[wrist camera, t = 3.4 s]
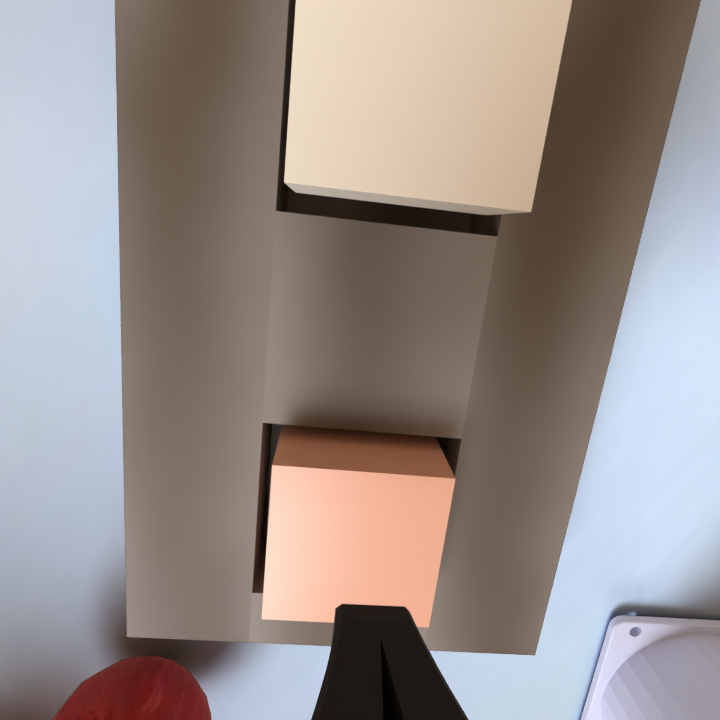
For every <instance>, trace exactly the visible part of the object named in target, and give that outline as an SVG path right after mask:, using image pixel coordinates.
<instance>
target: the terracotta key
mask: <svg viewBox="0 0 720 720" xmlns="http://www.w3.org/2000/svg"><path fill="white" fill-rule="evenodd" d="M454 485H455V476H454V474H453V472H452V470H451V468H450V466H449V464H448V462H447V460H446V458H445V456H444V454H443V452H442V450H441V447H440V445H439V443H438V441H437V439H436V437H433V436H421V435H408V434H396V433H383V432H371V431H359V430H346V429H334V428H321V427H309V426H297V425H284V424H283V425H282V429H281V432H280V436H279V440H278V444H277V448H276V452H275V456H274V460H273V464H272V474H271V489H270V503H269V518H268V532H267V547H266V561H265V576H264V590H263V604H262V619H267V620H287V621H308V622H328V623H334V617H335V608H337V607H338V606H340V605H341V604H359V605H382V606H405V607H406V608H407V609H408V610H409V611H410V613H411V615H412V618H413V620H414V622H415V624H416V626H417V627H429V624H430V619H431V613H432V607H433V602H434V596H435V591H436V585H437V580H438V574H439V568H440V563H441V557H442V552H443V546H444V540H445V535H446V529H447V524H448V518H449V513H450V507H451V501H452V496H453V490H454Z"/></svg>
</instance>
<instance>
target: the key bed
mask: <svg viewBox="0 0 720 720" xmlns="http://www.w3.org/2000/svg"><path fill="white" fill-rule="evenodd" d="M700 1H701V0H572V4H571V9H570V14H569V19H568V24H567V30H566V35H565V40H564V45H563V50H562V55H561V61H560V66H559V71H558V76H557V81H556V86H555V92H554V97H553V102H552V107H551V112H550V117H549V123H548V128H547V133H546V138H545V143H544V148H543V154H542V159H541V164H540V169H539V174H538V179H537V185H536V190H535V195H534V200H533V205H532V210H531V212H526V213H511V214H497V215H480V214H472V213H463V212H455V211H447V210H438V209H430V208H421V207H413V206H405V205H396V204H388V203H379V202H371V201H363V200H354V199H346V198H337V197H329V196H320V195H312V194H304V193H295V192H294V191H293V190H292V189H291V188H290V187H289V186H288V185H286V184H285V183H284V174H285V159H286V144H287V128H288V113H289V98H290V82H291V67H292V52H293V36H294V21H295V6H296V0H115V32H116V86H117V139H118V193H119V246H120V300H121V354H122V407H123V461H124V514H125V568H126V621H127V637H139V638H162V639H184V640H206V641H228V642H251V643H273V644H295V645H318V646H331V645H332V635H333V626H334V623H328V622H308V621H287V620H267V619H262V604H263V590H264V576H265V561H266V547H267V532H268V518H269V503H270V489H271V474H272V464H273V460H274V456H275V452H276V448H277V444H278V440H279V436H280V432H281V429H282V425H283V424H284V425H297V426H309V427H321V428H334V429H346V430H359V431H371V432H383V433H396V434H408V435H421V436H433V437H436V439H437V441H438V443H439V445H440V447H441V450H442V452H443V454H444V456H445V458H446V460H447V462H448V464H449V466H450V468H451V470H452V472H453V474H454V476H455V485H454V490H453V496H452V501H451V507H450V513H449V518H448V524H447V529H446V535H445V540H444V546H443V552H442V557H441V563H440V568H439V574H438V580H437V585H436V591H435V596H434V602H433V607H432V613H431V619H430V624H429V627H417V628H418V630H419V632H420V634H421V636H422V638H423V640H424V642H425V644H426V646H427V648H428V650H429V651H451V652H473V653H496V654H518V655H535V653H536V649H537V645H538V641H539V637H540V633H541V629H542V625H543V621H544V617H545V613H546V609H547V605H548V602H549V598H550V594H551V590H552V586H553V582H554V578H555V574H556V570H557V566H558V562H559V558H560V554H561V550H562V546H563V542H564V538H565V534H566V530H567V526H568V523H569V519H570V515H571V511H572V507H573V503H574V499H575V495H576V491H577V487H578V483H579V479H580V475H581V471H582V467H583V463H584V459H585V455H586V451H587V447H588V444H589V440H590V436H591V432H592V428H593V424H594V420H595V416H596V412H597V408H598V404H599V400H600V396H601V392H602V388H603V384H604V380H605V376H606V372H607V369H608V365H609V361H610V357H611V353H612V349H613V345H614V341H615V337H616V333H617V329H618V325H619V321H620V317H621V313H622V309H623V305H624V301H625V297H626V293H627V290H628V286H629V282H630V278H631V274H632V270H633V266H634V262H635V258H636V254H637V250H638V246H639V242H640V238H641V234H642V230H643V226H644V222H645V218H646V214H647V211H648V207H649V203H650V199H651V195H652V191H653V187H654V183H655V179H656V175H657V171H658V167H659V163H660V159H661V155H662V151H663V147H664V143H665V139H666V135H667V132H668V128H669V124H670V120H671V116H672V112H673V108H674V104H675V100H676V96H677V92H678V88H679V84H680V80H681V76H682V72H683V68H684V64H685V60H686V57H687V53H688V49H689V45H690V41H691V37H692V33H693V29H694V25H695V21H696V17H697V13H698V9H699V5H700Z"/></svg>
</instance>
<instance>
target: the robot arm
mask: <svg viewBox="0 0 720 720" xmlns="http://www.w3.org/2000/svg"><path fill="white" fill-rule="evenodd" d="M633 627H634V628H633ZM311 720H468V718H467V716H466V715H465V713H464V711H463V710H462V708H461V706H460V705H459V703H458V701H457V700H456V698H455V696H454V695H453V693H452V691H451V690H450V688H449V686H448V684H447V683H446V681H445V679H444V677H443V676H442V674H441V672H440V670H439V668H438V667H437V665H436V663H435V661H434V659H433V657H432V655H431V654H430V652H429V650H428V648H427V646H426V644H425V642H424V640H423V638H422V636H421V634H420V632H419V630H418V628H417V626H416V624H415V622H414V620H413V618H412V615H411V613H410V611H409V610H408V609H407V608H406V607H405V606H382V605H359V604H341V605H340V606H338V607H337V608H335V617H334V626H333V635H332V645H331V652H330V656H329V661H328V665H327V669H326V673H325V676H324V680H323V683H322V686H321V690H320V693H319V697H318V700H317V704H316V707H315V710H314V713H313V716H312V719H311ZM581 720H720V620H703V619H684V618H665V617H646V616H627V615H621V616H616V617H614V618H613V619H612V620H611V621H610V623H609V626H608V629H607V632H606V636H605V639H604V643H603V646H602V649H601V653H600V656H599V659H598V663H597V666H596V670H595V673H594V676H593V680H592V683H591V686H590V690H589V693H588V697H587V700H586V703H585V707H584V710H583V713H582V717H581Z"/></svg>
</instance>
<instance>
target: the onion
mask: <svg viewBox="0 0 720 720" xmlns="http://www.w3.org/2000/svg"><path fill="white" fill-rule="evenodd" d="M52 720H211V713H210V709H209V705H208V701H207V697H206V695H205V693H204V692H203V690H202V689H201V687H200V685H199V684H198V682H197V681H196V679H195V678H194V677H193V675H192V674H191V673H190V672H189V671H188V670H187V669H185V668H184V667H183V666H181V665H180V664H178V663H177V662H176V661H173V660H169V659H166V658H162V657H158V656H146V657H134V658H128V659H122V660H120V661H118V662H117V663H115V664H113V665H111V666H109V667H107V668H105V669H103V670H101V671H99V672H98V673H96V674H95V675H93V676H91V677H90V678H88V679H87V680H85V681H83V682H82V683H81V684H80V685H79V687H78V688H77V689H76V690H75V691H74V693H73V694H72V695H71V696H70V697H69V699H68V700H67V701H66V702H65V704H64V705H63V706H62V707H61V709H60V710H59V711H58V713H57V714H56V715H55V716H54V718H53V719H52Z"/></svg>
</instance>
